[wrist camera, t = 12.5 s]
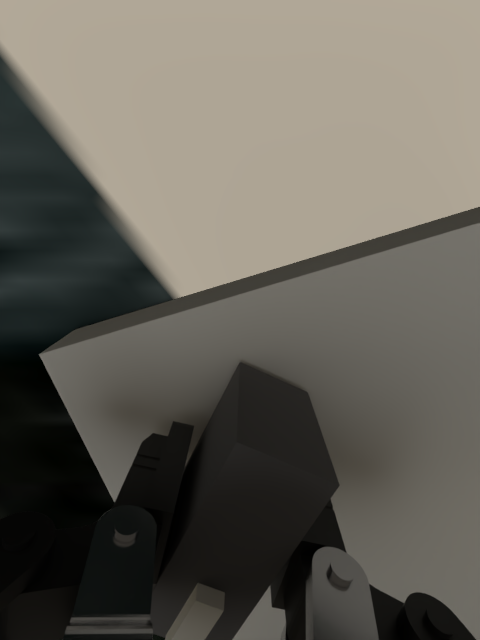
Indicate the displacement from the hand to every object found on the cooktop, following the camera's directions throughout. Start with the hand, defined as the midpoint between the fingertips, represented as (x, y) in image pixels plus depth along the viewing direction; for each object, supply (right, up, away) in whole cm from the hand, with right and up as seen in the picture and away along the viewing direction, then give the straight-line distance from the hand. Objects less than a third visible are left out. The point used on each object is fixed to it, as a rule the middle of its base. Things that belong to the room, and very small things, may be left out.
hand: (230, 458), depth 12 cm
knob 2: (0, 0, 0) cm, 0 cm away
